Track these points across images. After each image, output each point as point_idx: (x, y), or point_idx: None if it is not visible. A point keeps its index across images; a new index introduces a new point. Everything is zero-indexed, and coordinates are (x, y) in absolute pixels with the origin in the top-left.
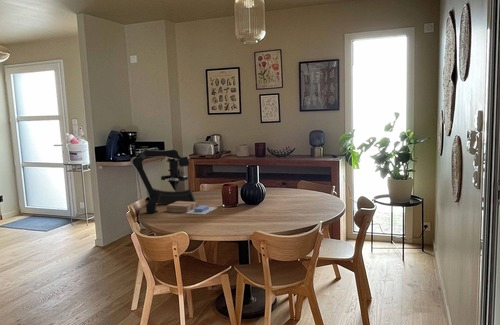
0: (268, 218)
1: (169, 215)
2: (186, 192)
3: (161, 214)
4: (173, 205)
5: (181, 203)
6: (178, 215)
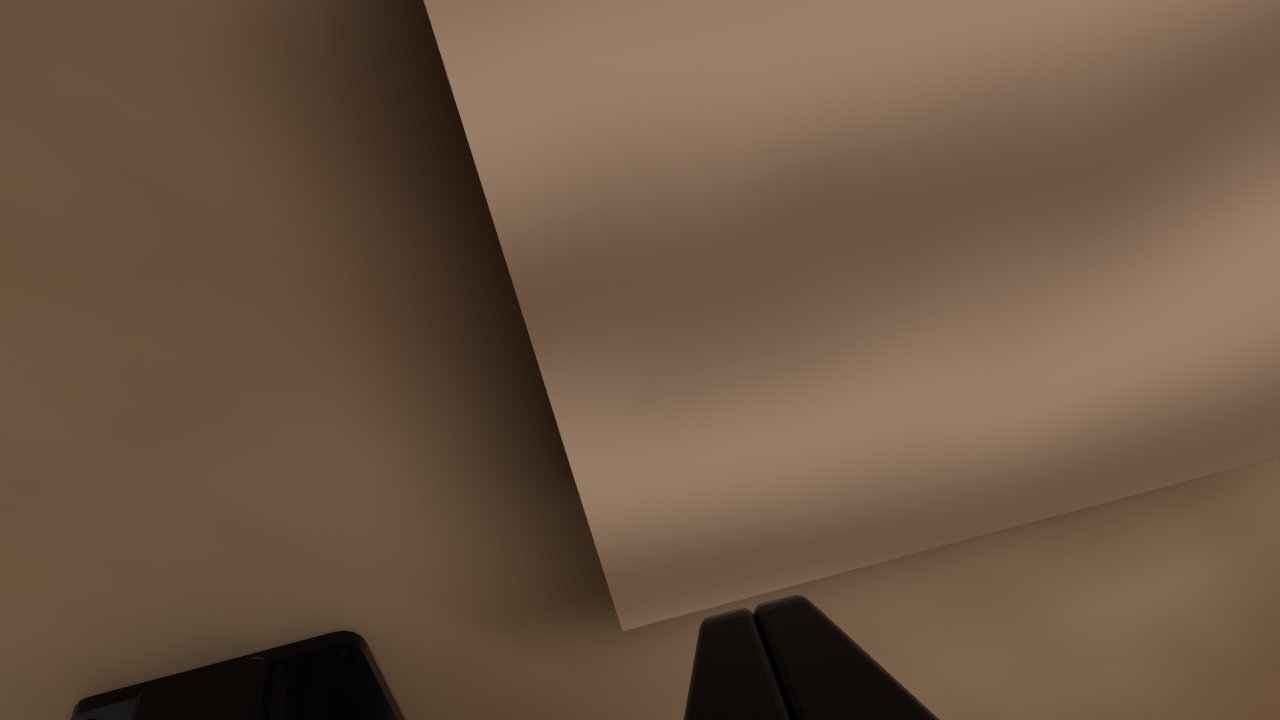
0: None
1: (987, 669)
2: None
3: None
4: (869, 518)
5: (971, 167)
6: (1218, 572)
